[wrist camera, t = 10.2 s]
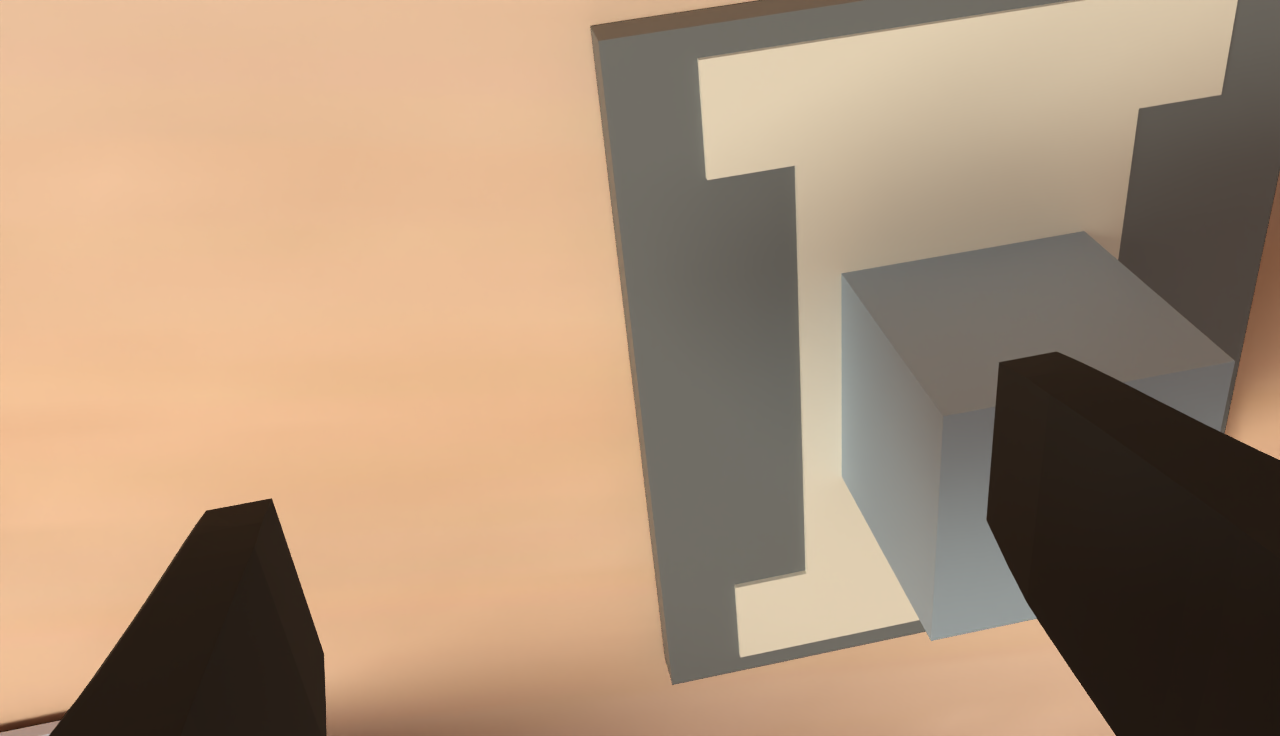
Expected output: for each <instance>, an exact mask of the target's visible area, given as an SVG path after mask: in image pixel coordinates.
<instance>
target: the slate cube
mask: <svg viewBox="0 0 1280 736" xmlns="http://www.w3.org/2000/svg"><path fill="white" fill-rule="evenodd" d="M841 306H842V478H843V480H844V482H845V484H846V486H847V487H848V489H849V491H850V493H851V495H852V497H853V498H854V500H855V502H856V504H857V506H858V508H859V509H860V511H861V513H862V515H863V517H864V519H865V520H866V522H867V524H868V526H869V528H870V530H871V531H872V533H873V535H874V537H875V539H876V541H877V543H878V544H879V546H880V548H881V550H882V552H883V554H884V555H885V557H886V559H887V561H888V563H889V565H890V566H891V568H892V570H893V572H894V574H895V576H896V577H897V579H898V581H899V583H900V585H901V587H902V588H903V590H904V592H905V594H906V596H907V598H908V600H909V601H910V603H911V605H912V607H913V609H914V611H915V612H916V614H917V616H918V618H919V620H920V622H921V623H922V625H923V627H924V629H925V631H926V633H927V634H928V636H929V638H930V640H931V641H933V640H938V639H942V638H947V637H952V636H957V635H961V634H966V633H971V632H976V631H980V630H985V629H990V628H995V627H1000V626H1004V625H1009V624H1014V623H1019V622H1023V621H1028V620H1033V619H1037V618H1036V616H1035V615H1034V613H1033V612H1032V610H1031V609H1030V607H1029V605H1028V604H1027V602H1026V600H1025V598H1024V596H1023V594H1022V592H1021V591H1020V589H1019V587H1018V585H1017V583H1016V581H1015V579H1014V577H1013V575H1012V573H1011V571H1010V569H1009V567H1008V565H1007V563H1006V561H1005V559H1004V557H1003V554H1002V552H1001V550H1000V548H999V546H998V544H997V542H996V540H995V537H994V535H993V533H992V531H991V529H990V527H989V525H988V523H987V520H986V517H987V505H988V492H989V480H990V467H991V455H992V443H993V430H994V418H995V405H996V393H997V380H998V368H999V362H1003V361H1008V360H1014V359H1019V358H1024V357H1030V356H1035V355H1040V354H1046V353H1051V352H1056V351H1057V352H1059V353H1062V354H1064V355H1066V356H1069V357H1071V358H1073V359H1076V360H1078V361H1080V362H1082V363H1084V364H1086V365H1088V366H1090V367H1093V368H1095V369H1097V370H1099V371H1101V372H1103V373H1105V374H1107V375H1109V376H1111V377H1113V378H1115V379H1117V380H1119V381H1121V382H1123V383H1125V384H1127V385H1129V386H1131V387H1133V388H1135V389H1137V390H1139V391H1140V392H1142V393H1144V394H1146V395H1148V396H1150V397H1152V398H1154V399H1156V400H1158V401H1160V402H1162V403H1164V404H1166V405H1168V406H1170V407H1172V408H1174V409H1176V410H1178V411H1180V412H1182V413H1184V414H1186V415H1188V416H1190V417H1192V418H1194V419H1196V420H1198V421H1200V422H1202V423H1204V424H1206V425H1208V426H1210V427H1212V428H1214V429H1216V430H1218V431H1221V426H1222V421H1223V416H1224V412H1225V407H1226V402H1227V397H1228V393H1229V388H1230V383H1231V378H1232V374H1233V369H1234V364H1235V361H1234V360H1233V359H1232V358H1231V357H1230V356H1229V355H1227V354H1226V353H1225V352H1224V351H1223V350H1222V349H1221V348H1219V347H1218V346H1217V345H1216V344H1215V343H1214V342H1212V341H1211V340H1210V339H1209V338H1208V337H1207V336H1205V335H1204V334H1203V333H1202V332H1201V331H1200V330H1198V329H1197V328H1196V327H1195V326H1194V325H1193V324H1191V323H1190V322H1189V321H1188V320H1187V319H1186V318H1185V317H1183V316H1182V315H1181V314H1180V313H1179V312H1178V311H1176V310H1175V309H1174V308H1173V307H1172V306H1171V305H1169V304H1168V303H1167V302H1166V301H1165V300H1164V299H1162V298H1161V297H1160V296H1159V295H1158V294H1157V293H1156V292H1154V291H1153V290H1152V289H1151V288H1150V287H1149V286H1147V285H1146V284H1145V283H1144V282H1143V281H1142V280H1140V279H1139V278H1138V277H1137V276H1136V275H1135V274H1133V273H1132V272H1131V271H1130V270H1129V269H1128V268H1126V267H1125V266H1124V265H1123V264H1122V263H1121V262H1120V261H1118V260H1117V259H1116V258H1115V257H1114V256H1113V255H1111V254H1110V253H1109V252H1108V251H1107V250H1106V249H1104V248H1103V247H1102V246H1101V245H1100V244H1099V243H1097V242H1096V241H1095V240H1094V239H1093V238H1092V237H1090V236H1089V235H1088V234H1087V233H1086V232H1085V231H1082V232H1076V233H1070V234H1065V235H1059V236H1053V237H1047V238H1042V239H1036V240H1030V241H1024V242H1019V243H1013V244H1007V245H1002V246H996V247H990V248H984V249H979V250H973V251H967V252H961V253H956V254H950V255H944V256H938V257H933V258H927V259H921V260H916V261H910V262H904V263H898V264H893V265H887V266H881V267H875V268H870V269H864V270H858V271H852V272H847V273H841Z"/></svg>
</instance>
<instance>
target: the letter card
mask: <svg viewBox="0 0 1280 736" xmlns="http://www.w3.org/2000/svg"><path fill="white" fill-rule="evenodd" d="M590 27H591V36H592V44H593V53H594V61H595V69H596V78H597V86H598V95H599V103H600V112H601V120H602V129H603V137H604V146H605V154H606V163H607V171H608V180H609V188H610V197H611V205H612V214H613V222H614V230H615V239H616V247H617V256H618V264H619V273H620V281H621V290H622V298H623V307H624V315H625V324H626V332H627V341H628V349H629V358H630V366H631V374H632V383H633V391H634V400H635V408H636V417H637V425H638V434H639V442H640V451H641V459H642V468H643V476H644V485H645V493H646V502H647V510H648V518H649V527H650V535H651V544H652V552H653V561H654V569H655V578H656V586H657V595H658V603H659V612H660V620H661V629H662V637H663V646H664V654H665V660H666V663H667V667H668V671H669V674H670V678H671V681H672V685H674V684H679V683H684V682H689V681H693V680H698V679H703V678H708V677H712V676H717V675H722V674H727V673H731V672H736V671H741V670H746V669H750V668H755V667H760V666H765V665H769V664H774V663H779V662H784V661H788V660H793V659H798V658H803V657H807V656H812V655H817V654H822V653H826V652H831V651H836V650H841V649H845V648H850V647H855V646H860V645H864V644H869V643H874V642H879V641H883V640H888V639H893V638H898V637H902V636H907V635H912V634H917V633H921V632H926V631H925V629H924V627H923V625H922V623H921V622H920V620H919V618H918V616H917V614H916V612H915V611H914V609H913V607H912V605H911V603H910V601H909V600H908V598H907V596H906V594H905V592H904V590H903V588H902V587H901V585H900V583H899V581H898V579H897V577H896V576H895V574H894V572H893V570H892V568H891V566H890V565H889V563H888V561H887V559H886V557H885V555H884V554H883V552H882V550H881V548H880V546H879V544H878V543H877V541H876V539H875V537H874V535H873V533H872V531H871V530H870V528H869V526H868V524H867V522H866V520H865V519H864V517H863V515H862V513H861V511H860V509H859V508H858V506H857V504H856V502H855V500H854V498H853V497H852V495H851V493H850V491H849V489H848V487H847V486H846V484H845V482H844V480H843V478H842V306H841V273H847V272H852V271H858V270H864V269H870V268H875V267H881V266H887V265H893V264H898V263H904V262H910V261H916V260H921V259H927V258H933V257H938V256H944V255H950V254H956V253H961V252H967V251H973V250H979V249H984V248H990V247H996V246H1002V245H1007V244H1013V243H1019V242H1024V241H1030V240H1036V239H1042V238H1047V237H1053V236H1059V235H1065V234H1070V233H1076V232H1082V231H1085V232H1086V233H1087V234H1088V235H1089V236H1090V237H1092V238H1093V239H1094V240H1095V241H1096V242H1097V243H1099V244H1100V245H1101V246H1102V247H1103V248H1104V249H1106V250H1107V251H1108V252H1109V253H1110V254H1111V255H1113V256H1114V257H1115V258H1116V259H1117V260H1118V261H1120V262H1121V263H1122V264H1123V265H1124V266H1125V267H1126V268H1128V269H1129V270H1130V271H1131V272H1132V273H1133V274H1135V275H1136V276H1137V277H1138V278H1139V279H1140V280H1142V281H1143V282H1144V283H1145V284H1146V285H1147V286H1149V287H1150V288H1151V289H1152V290H1153V291H1154V292H1156V293H1157V294H1158V295H1159V296H1160V297H1161V298H1162V299H1164V300H1165V301H1166V302H1167V303H1168V304H1169V305H1171V306H1172V307H1173V308H1174V309H1175V310H1176V311H1178V312H1179V313H1180V314H1181V315H1182V316H1183V317H1185V318H1186V319H1187V320H1188V321H1189V322H1190V323H1191V324H1193V325H1194V326H1195V327H1196V328H1197V329H1198V330H1200V331H1201V332H1202V333H1203V334H1204V335H1205V336H1207V337H1208V338H1209V339H1210V340H1211V341H1212V342H1214V343H1215V344H1216V345H1217V346H1218V347H1219V348H1221V349H1222V350H1223V351H1224V352H1225V353H1226V354H1227V355H1229V356H1230V357H1231V358H1232V359H1233V360H1234V361H1235V364H1234V369H1233V374H1232V378H1231V383H1230V388H1229V393H1228V397H1227V402H1226V407H1225V412H1224V416H1223V421H1222V426H1221V431H1220V432H1222V433H1225V428H1226V423H1227V419H1228V414H1229V409H1230V404H1231V400H1232V395H1233V390H1234V385H1235V380H1236V376H1237V371H1238V366H1239V361H1240V357H1241V352H1242V347H1243V342H1244V338H1245V333H1246V328H1247V323H1248V319H1249V314H1250V309H1251V304H1252V299H1253V295H1254V290H1255V285H1256V280H1257V276H1258V271H1259V266H1260V261H1261V257H1262V252H1263V247H1264V242H1265V238H1266V233H1267V228H1268V223H1269V219H1270V214H1271V209H1272V204H1273V199H1274V195H1275V190H1276V185H1277V180H1278V176H1279V171H1280V0H760V1H753V2H746V3H740V4H733V5H727V6H720V7H713V8H707V9H700V10H693V11H687V12H680V13H674V14H667V15H660V16H654V17H647V18H640V19H634V20H627V21H620V22H614V23H607V24H601V25H594V26H590Z"/></svg>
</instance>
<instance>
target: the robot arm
mask: <svg viewBox="0 0 1280 736" xmlns="http://www.w3.org/2000/svg"><path fill="white" fill-rule="evenodd" d="M986 520H987V523H988V525H989V527H990V529H991V531H992V533H993V535H994V537H995V540H996V542H997V544H998V546H999V548H1000V550H1001V552H1002V554H1003V557H1004V559H1005V561H1006V563H1007V565H1008V567H1009V569H1010V571H1011V573H1012V575H1013V577H1014V579H1015V581H1016V583H1017V585H1018V587H1019V589H1020V591H1021V592H1022V594H1023V596H1024V598H1025V600H1026V602H1027V604H1028V605H1029V607H1030V609H1031V610H1032V612H1033V613H1034V615H1035V616H1036V618H1037V619H1038V621H1039V622H1040V624H1041V625H1042V627H1043V628H1044V630H1045V631H1046V633H1047V634H1048V636H1049V637H1050V639H1051V640H1052V642H1053V643H1054V645H1055V646H1056V648H1057V649H1058V651H1059V652H1060V654H1061V655H1062V657H1063V658H1064V660H1065V661H1066V663H1067V664H1068V666H1069V667H1070V669H1071V670H1072V672H1073V673H1074V675H1075V676H1076V678H1077V679H1078V681H1079V682H1080V683H1081V685H1082V686H1083V688H1084V689H1085V691H1086V692H1087V694H1088V695H1089V697H1090V698H1091V700H1092V701H1093V703H1094V704H1095V705H1096V707H1097V708H1098V710H1099V711H1100V713H1101V714H1102V716H1103V717H1104V719H1105V720H1106V722H1107V723H1108V725H1109V726H1110V727H1111V729H1112V730H1113V732H1114V733H1115V735H1116V736H1280V460H1278V459H1276V458H1274V457H1272V456H1270V455H1267V454H1265V453H1263V452H1261V451H1259V450H1257V449H1255V448H1253V447H1251V446H1248V445H1246V444H1244V443H1242V442H1240V441H1238V440H1236V439H1234V438H1232V437H1230V436H1228V435H1226V434H1224V433H1222V432H1220V431H1218V430H1216V429H1214V428H1212V427H1210V426H1208V425H1206V424H1204V423H1202V422H1200V421H1198V420H1196V419H1194V418H1192V417H1190V416H1188V415H1186V414H1184V413H1182V412H1180V411H1178V410H1176V409H1174V408H1172V407H1170V406H1168V405H1166V404H1164V403H1162V402H1160V401H1158V400H1156V399H1154V398H1152V397H1150V396H1148V395H1146V394H1144V393H1142V392H1140V391H1139V390H1137V389H1135V388H1133V387H1131V386H1129V385H1127V384H1125V383H1123V382H1121V381H1119V380H1117V379H1115V378H1113V377H1111V376H1109V375H1107V374H1105V373H1103V372H1101V371H1099V370H1097V369H1095V368H1093V367H1090V366H1088V365H1086V364H1084V363H1082V362H1080V361H1078V360H1076V359H1073V358H1071V357H1069V356H1066V355H1064V354H1062V353H1059V352H1057V351H1056V352H1051V353H1046V354H1040V355H1035V356H1030V357H1024V358H1019V359H1014V360H1008V361H1003V362H999V368H998V380H997V393H996V405H995V418H994V430H993V443H992V455H991V467H990V480H989V492H988V505H987V517H986ZM0 736H326V697H325V671H324V653H323V650H322V647H321V644H320V641H319V638H318V635H317V632H316V629H315V626H314V623H313V620H312V617H311V614H310V611H309V608H308V605H307V602H306V599H305V596H304V593H303V590H302V587H301V584H300V581H299V578H298V575H297V572H296V569H295V566H294V563H293V560H292V557H291V554H290V551H289V548H288V545H287V542H286V539H285V536H284V533H283V530H282V527H281V524H280V521H279V518H278V515H277V512H276V509H275V507H274V504H273V501H272V499H266V500H261V501H256V502H250V503H245V504H240V505H234V506H229V507H224V508H218V509H213V510H207V511H206V512H205V513H204V514H203V516H202V517H201V518H200V520H199V521H198V522H197V524H196V525H195V527H194V528H193V530H192V531H191V533H190V534H189V536H188V537H187V539H186V540H185V542H184V543H183V545H182V546H181V548H180V549H179V551H178V553H177V554H176V556H175V557H174V559H173V560H172V562H171V563H170V565H169V566H168V568H167V569H166V571H165V573H164V574H163V576H162V577H161V579H160V580H159V582H158V583H157V585H156V586H155V588H154V589H153V591H152V592H151V594H150V595H149V597H148V598H147V600H146V601H145V603H144V604H143V606H142V607H141V609H140V610H139V612H138V613H137V615H136V616H135V618H134V619H133V621H132V622H131V624H130V625H129V627H128V628H127V629H126V631H125V632H124V634H123V635H122V637H121V638H120V639H119V641H118V642H117V644H116V645H115V647H114V648H113V650H112V651H111V652H110V654H109V655H108V657H107V658H106V660H105V661H104V662H103V664H102V665H101V667H100V668H99V670H98V671H97V672H96V674H95V675H94V677H93V678H92V680H91V681H90V682H89V684H88V685H87V686H86V688H85V689H84V690H83V692H82V693H81V695H80V696H79V697H78V699H77V700H76V701H75V702H74V704H73V705H72V706H71V708H70V709H69V710H68V711H67V713H66V714H65V715H64V717H63V718H62V719H61V720H60V721H55V722H50V723H45V724H40V725H35V726H30V727H25V728H20V729H16V730H11V731H6V732H1V733H0Z"/></svg>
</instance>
